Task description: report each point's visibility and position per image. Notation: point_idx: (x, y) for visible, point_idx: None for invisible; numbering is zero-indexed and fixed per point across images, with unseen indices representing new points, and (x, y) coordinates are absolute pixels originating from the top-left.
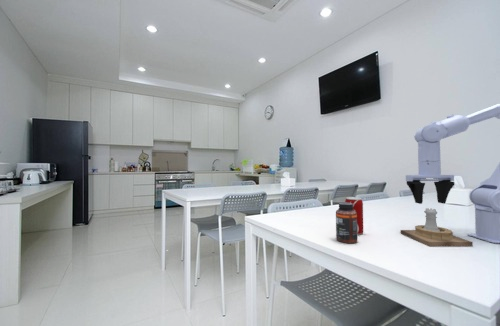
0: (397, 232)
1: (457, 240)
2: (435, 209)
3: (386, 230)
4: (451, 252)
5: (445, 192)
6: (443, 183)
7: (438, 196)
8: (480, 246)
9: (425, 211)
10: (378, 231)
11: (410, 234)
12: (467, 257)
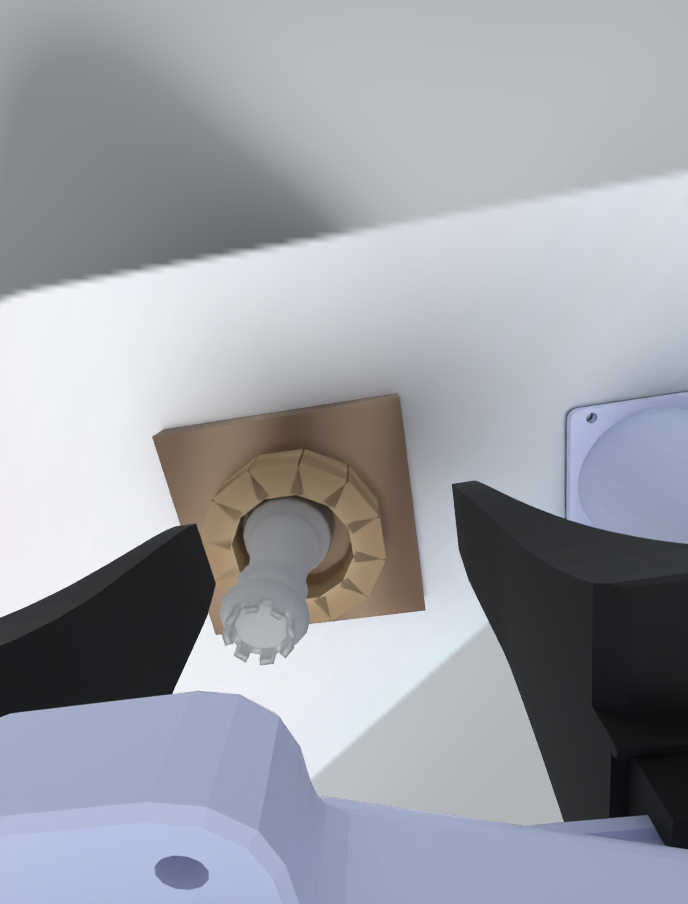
0: (153, 402)
1: (368, 598)
2: (288, 649)
3: (93, 360)
4: (273, 671)
5: (513, 674)
6: (585, 814)
7: (476, 524)
8: (460, 590)
9: (221, 620)
10: (35, 396)
11: (180, 520)
12: (299, 707)
